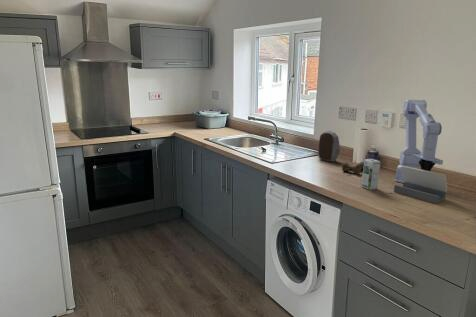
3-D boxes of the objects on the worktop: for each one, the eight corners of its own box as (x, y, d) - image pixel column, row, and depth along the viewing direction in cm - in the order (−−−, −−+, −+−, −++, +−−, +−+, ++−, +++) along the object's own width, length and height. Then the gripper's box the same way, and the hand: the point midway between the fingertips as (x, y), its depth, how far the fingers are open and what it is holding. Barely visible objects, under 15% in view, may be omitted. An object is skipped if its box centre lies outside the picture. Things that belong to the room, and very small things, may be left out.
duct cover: (402, 166, 179) (403, 165, 179) (404, 181, 184) (405, 180, 184) (445, 175, 164) (446, 174, 164) (446, 192, 169) (447, 190, 169)
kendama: (370, 171, 217) (352, 176, 204) (356, 168, 224) (337, 173, 211) (371, 162, 215) (353, 166, 202) (356, 159, 222) (338, 163, 209)
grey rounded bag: (315, 159, 243) (317, 129, 238) (322, 157, 248) (325, 128, 244) (334, 163, 232) (336, 132, 227) (341, 161, 237) (344, 131, 232)
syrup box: (360, 186, 186) (363, 159, 182) (369, 185, 188) (372, 158, 184) (368, 190, 180) (371, 161, 177) (377, 188, 183) (381, 160, 179)
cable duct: (393, 191, 178) (394, 185, 178) (403, 188, 184) (404, 181, 184) (436, 203, 163) (437, 196, 162) (445, 199, 169) (446, 192, 169)
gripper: (449, 150, 166) (444, 178, 169) (421, 144, 179) (417, 171, 182) (438, 151, 163) (434, 180, 166) (411, 145, 176) (407, 172, 179)
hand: (425, 175), depth 174 cm, fingers closed
